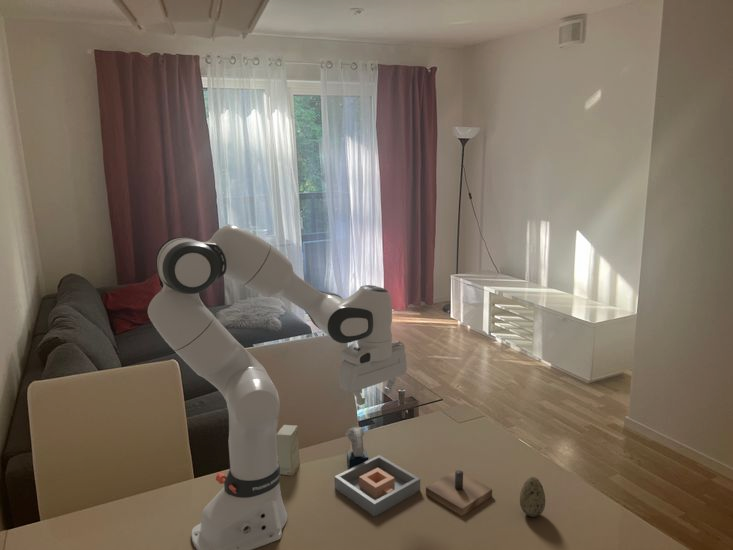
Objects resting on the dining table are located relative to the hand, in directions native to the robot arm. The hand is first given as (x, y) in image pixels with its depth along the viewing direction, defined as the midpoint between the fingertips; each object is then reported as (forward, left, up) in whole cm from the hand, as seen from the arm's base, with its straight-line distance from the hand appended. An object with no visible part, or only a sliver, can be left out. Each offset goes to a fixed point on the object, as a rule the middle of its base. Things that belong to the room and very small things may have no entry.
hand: (374, 398), depth 140 cm
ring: (-1, -2, -24) cm, 24 cm away
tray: (-1, -2, -25) cm, 25 cm away
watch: (+3, +11, -25) cm, 27 cm away
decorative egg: (+20, -35, -25) cm, 47 cm away
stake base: (+13, -18, -25) cm, 33 cm away
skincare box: (-13, +22, -25) cm, 36 cm away
